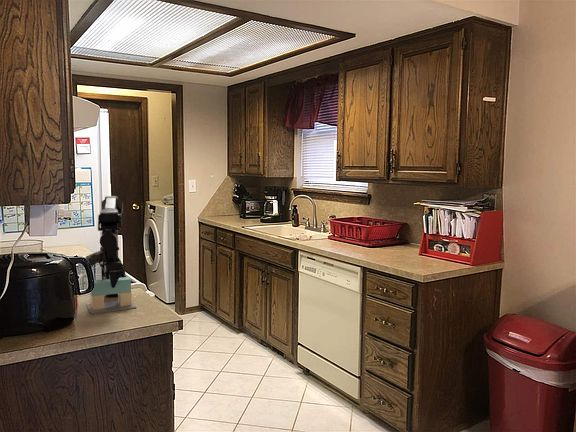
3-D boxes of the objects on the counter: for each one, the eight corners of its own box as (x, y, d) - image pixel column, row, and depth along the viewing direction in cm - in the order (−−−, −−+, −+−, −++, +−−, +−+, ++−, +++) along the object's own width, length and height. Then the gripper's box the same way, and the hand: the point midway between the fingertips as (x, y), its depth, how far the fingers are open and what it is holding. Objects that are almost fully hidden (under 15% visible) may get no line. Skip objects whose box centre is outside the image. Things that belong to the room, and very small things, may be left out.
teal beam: (90, 293, 183) (90, 280, 183) (128, 289, 190) (128, 276, 190) (92, 296, 180) (91, 283, 179) (131, 291, 187) (130, 279, 186)
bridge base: (86, 305, 187) (86, 291, 186) (129, 300, 195) (129, 286, 194) (91, 314, 177) (91, 299, 176) (136, 308, 185) (136, 294, 184)
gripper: (83, 242, 187) (84, 281, 189) (91, 250, 171) (92, 293, 173) (113, 240, 193) (114, 278, 194) (123, 247, 177) (124, 289, 178)
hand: (110, 285), depth 185 cm, fingers open, 9 cm apart
